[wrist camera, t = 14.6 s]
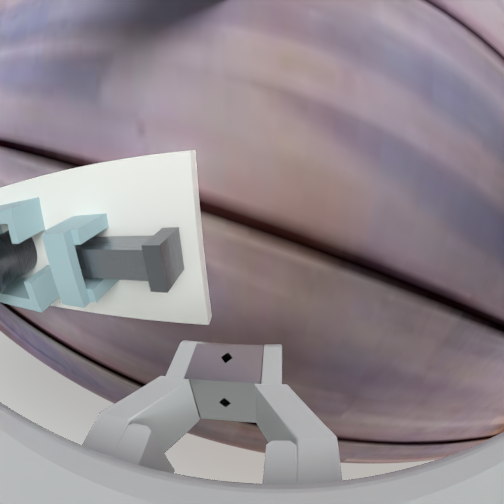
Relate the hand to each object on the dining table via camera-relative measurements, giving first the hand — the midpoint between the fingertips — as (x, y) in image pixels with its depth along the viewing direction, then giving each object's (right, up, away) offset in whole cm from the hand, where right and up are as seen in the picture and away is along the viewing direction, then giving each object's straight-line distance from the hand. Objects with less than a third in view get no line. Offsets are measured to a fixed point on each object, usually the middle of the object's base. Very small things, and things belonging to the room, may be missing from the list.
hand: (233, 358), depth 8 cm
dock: (-14, +4, +10) cm, 18 cm away
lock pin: (-8, +3, +8) cm, 12 cm away
